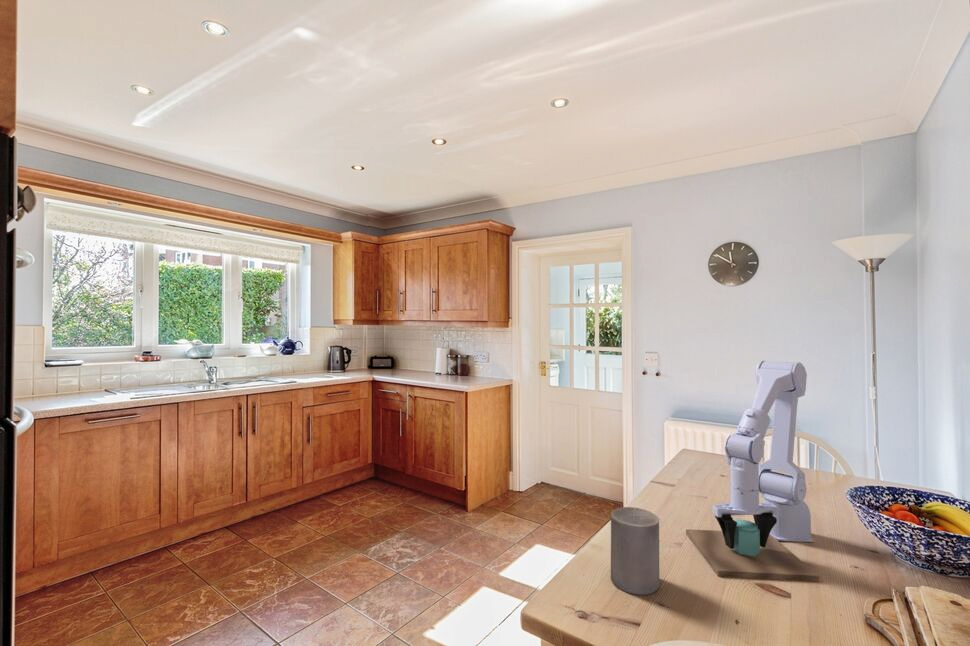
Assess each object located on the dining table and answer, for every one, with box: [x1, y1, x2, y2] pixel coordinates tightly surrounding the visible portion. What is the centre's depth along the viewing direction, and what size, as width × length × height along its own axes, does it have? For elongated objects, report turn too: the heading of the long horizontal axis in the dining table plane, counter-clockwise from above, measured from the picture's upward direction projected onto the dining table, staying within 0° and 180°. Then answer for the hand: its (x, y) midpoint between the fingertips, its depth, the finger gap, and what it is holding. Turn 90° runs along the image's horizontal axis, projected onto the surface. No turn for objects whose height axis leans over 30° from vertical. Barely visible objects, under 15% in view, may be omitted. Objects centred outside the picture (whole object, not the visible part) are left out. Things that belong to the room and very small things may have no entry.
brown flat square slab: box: [685, 529, 820, 582], centre depth 104 cm, size 20×20×1 cm
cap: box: [733, 519, 760, 556], centre depth 104 cm, size 5×6×6 cm
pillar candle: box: [610, 506, 661, 596], centre depth 93 cm, size 10×10×15 cm
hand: (745, 546), depth 104 cm, fingers open, 7 cm apart
